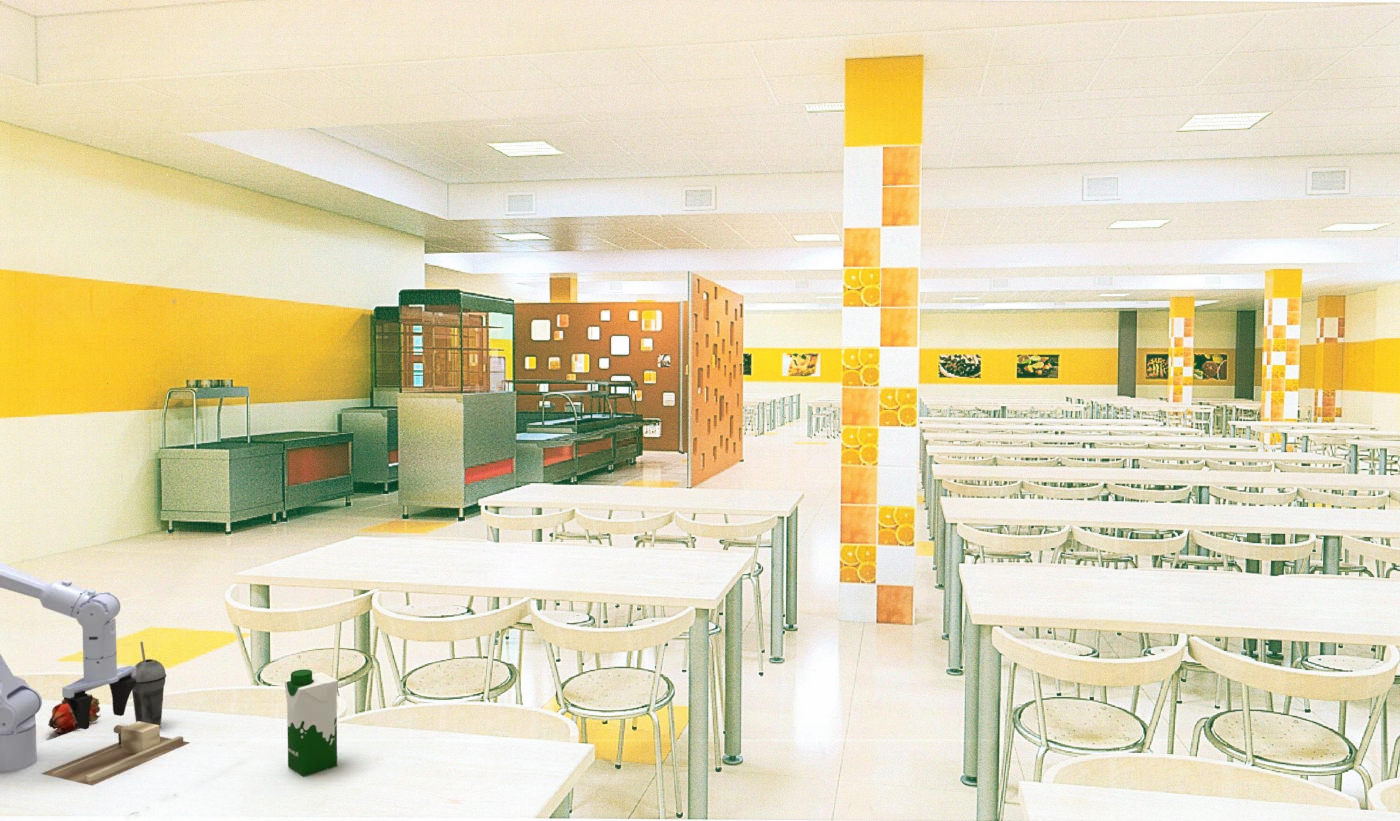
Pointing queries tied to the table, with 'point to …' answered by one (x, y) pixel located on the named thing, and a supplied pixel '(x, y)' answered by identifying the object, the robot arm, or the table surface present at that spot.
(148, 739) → the block
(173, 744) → the walnut board
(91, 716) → the dragon fruit
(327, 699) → the milk carton
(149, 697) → the beverage cup
